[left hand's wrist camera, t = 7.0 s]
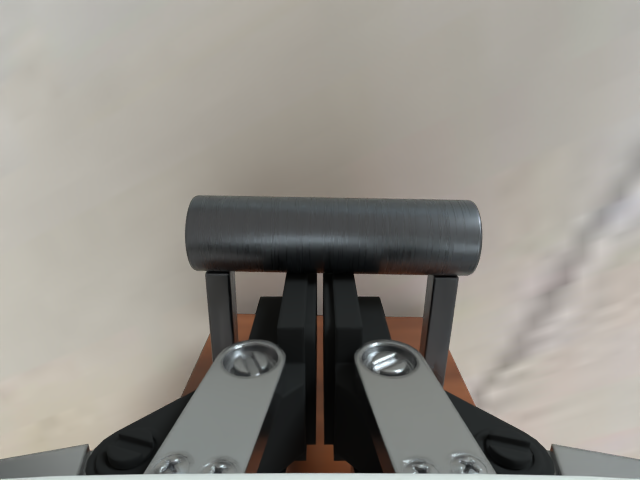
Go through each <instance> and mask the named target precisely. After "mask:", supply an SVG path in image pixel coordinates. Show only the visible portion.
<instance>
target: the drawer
mask: <svg viewBox="0 0 640 480" xmlns="http://www.w3.org/2000/svg"><path fill="white" fill-rule="evenodd" d="M185 244H186V252H187V256H188V260H189V263H190V265H191V267H192V268H193V269H194V270H196V271H207V272H206V274H205V277H206V289H207V301H208V313H209V324H210V334H209V337H208V339H207V341H206V343H205V345H204V348H203V350H202V352H201V354H200V356H199V359H198V361H197V363H196V365H195V367H194V370H193V372H192V374H191V376H190V378H189V380H188V383H187V385H186V387H185V389H184V391H183V394H182V396H181V397H183V396H185V395H187V394H189V393H191V392H193V391H195V390H196V389H197V388H198V386H199V384H200V383H201V381H202V380H203V378H204V377H205V375H206V373H207V372H208V370H209V369H210V367H211V365H212V364H213V362H214V361H215V359H216V357H217V356H218V355H219V354H220V352H221V351H222V350H223V349H225V348H227V347H228V346H230V345H232V344H234V343H237V342H240V341H245V340H248V339H249V336H250V332H251V329H252V325H253V321H254V318H255V314H237V305H236V288H235V271H240V272H295V273H349V274H404V275H428V279H427V287H426V296H425V305H424V314H423V317H385V318H386V321H387V325H388V329H389V332H390V336H391V339H392V340H395V341H400V342H403V343H406V344H408V345H410V346H412V347H413V348H415V349H417V350H418V351H419V352H420V354H421V355H422V356H423V357H424V359H425V361H426V362H427V364H428V365H429V367H430V369H431V370H432V372H433V373H434V375H435V377H436V378H437V380H438V381H439V383H440V384H441V386H442V388H443V389H444V390H445V391H447V392H449V393H451V394H453V395H455V396H457V397H459V398H461V399H462V400H464V401H466V402H468V403H470V404H472V405H474V406H475V404H474V402H473V400H472V398H471V395H470V393H469V391H468V389H467V387H466V385H465V383H464V381H463V378H462V376H461V374H460V372H459V370H458V368H457V366H456V364H455V361H454V359H453V357H452V355H451V353H450V351H449V343H450V336H451V329H452V322H453V315H454V308H455V301H456V294H457V287H458V279H459V278H458V276H468V275H470V274H472V273H473V272H474V271H475V269H476V267H477V265H478V262H479V259H480V254H481V248H482V224H481V218H480V214H479V211H478V208H477V206H476V205H475V203H474V202H472V201H469V200H427V199H371V198H315V197H259V196H203V195H198V196H195V197H194V198H193V199H192V201H191V203H190V205H189V208H188V212H187V217H186V225H185ZM457 275H458V276H457ZM289 470H290V473H350V470H351V465H350V464H349V463H348V462H346V461H334V454H333V445H324V396H323V316H320V315H317V399H316V445H307V455H306V461H294V462H292V463H291V464H290V465H289Z"/></svg>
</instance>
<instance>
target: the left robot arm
mask: <svg viewBox="0 0 640 480" xmlns="http://www.w3.org/2000/svg"><path fill="white" fill-rule="evenodd" d="M323 396H324V445H333V454H334V461H346V462H348V463H349V464H350V465H351V470H350V473H290V470H289V465H290V464H291V463H292V462H294V461H306V455H307V445H316V399H317V273H295V272H287V274H286V280H285V285H284V291H283V297H260V300H259V304H258V307H257V311H256V314H255V318H254V321H253V325H252V329H251V332H250V336H249V339H248V340H245V341H240V342H237V343H234V344H232V345H230V346H228V347H227V348H225V349H223V350H222V351H221V352H220V354H219V355H218V356H217V357H216V359H215V361H214V362H213V364H212V365H211V367H210V369H209V370H208V372H207V373H206V375H205V377H204V378H203V380H202V381H201V383H200V384H199V386H198V388H197V389H196V390H195V391H193V392H191V393H189V394H187V395H185V396H183V397H181V398H179V399H178V400H176V401H174V402H172V403H170V404H168V405H166V406H164V407H162V408H160V409H159V410H157V411H155V412H153V413H151V414H149V415H147V416H145V417H143V418H142V419H140V420H138V421H136V422H134V423H132V424H130V425H128V426H126V427H125V428H123V429H121V430H119V431H117V432H115V433H114V434H112V435H111V436H109V437H108V438H106V439H104V440H103V441H102V442H101V443H100V444H99V445H98V446H97V447H96V448H95V449H94V450H93V451H90V449H89V445H88V444H85V445H80V446H74V447H68V448H62V449H57V450H51V451H45V452H40V453H34V454H28V455H22V456H17V457H11V458H5V459H0V480H640V459H635V458H629V457H623V456H618V455H612V454H606V453H600V452H595V451H589V450H583V449H578V448H572V447H566V446H561V445H555V444H552V445H551V449H550V451H547V450H546V449H545V448H544V447H543V446H542V445H541V444H540V443H539V442H538V441H537V440H536V439H534V438H532V437H531V436H529V435H528V434H526V433H525V432H523V431H521V430H519V429H517V428H515V427H514V426H512V425H510V424H508V423H506V422H504V421H502V420H500V419H498V418H497V417H495V416H493V415H491V414H489V413H487V412H485V411H483V410H481V409H480V408H478V407H476V406H474V405H472V404H470V403H468V402H466V401H464V400H462V399H461V398H459V397H457V396H455V395H453V394H451V393H449V392H447V391H445V390H444V389H443V388H442V386H441V384H440V383H439V381H438V380H437V378H436V377H435V375H434V373H433V372H432V370H431V369H430V367H429V365H428V364H427V362H426V361H425V359H424V357H423V356H422V355H421V354H420V352H419V351H418V350H417V349H415V348H413V347H412V346H410V345H408V344H406V343H403V342H400V341H395V340H392V339H391V336H390V332H389V329H388V325H387V321H386V318H385V314H384V311H383V307H382V304H381V300H380V297H358V296H357V291H356V285H355V279H354V274H349V273H323Z"/></svg>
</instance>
